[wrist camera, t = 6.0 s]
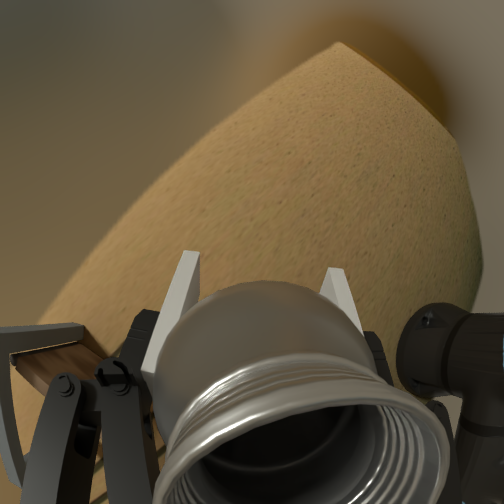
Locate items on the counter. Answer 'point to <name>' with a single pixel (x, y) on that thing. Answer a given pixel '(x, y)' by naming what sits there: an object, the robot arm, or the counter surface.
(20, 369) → the door
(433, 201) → the counter surface
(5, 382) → the door frame
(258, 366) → the silver metal bottle
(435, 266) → the counter surface
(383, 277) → the counter surface
